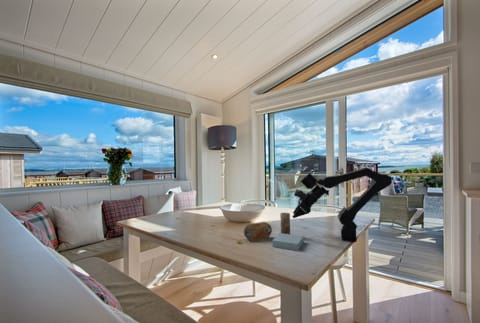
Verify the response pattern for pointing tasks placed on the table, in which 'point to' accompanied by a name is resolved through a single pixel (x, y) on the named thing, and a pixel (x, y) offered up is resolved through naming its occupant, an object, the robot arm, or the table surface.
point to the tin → (257, 231)
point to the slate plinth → (288, 241)
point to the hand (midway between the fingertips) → (293, 215)
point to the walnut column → (285, 223)
